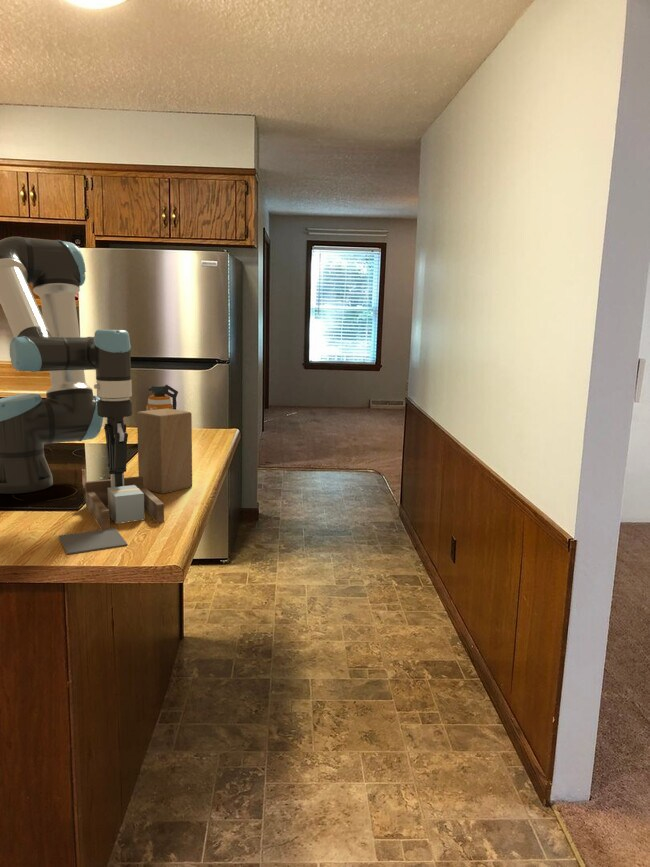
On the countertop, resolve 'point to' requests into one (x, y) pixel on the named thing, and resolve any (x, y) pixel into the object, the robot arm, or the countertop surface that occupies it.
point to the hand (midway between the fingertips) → (118, 499)
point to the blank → (125, 503)
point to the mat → (92, 540)
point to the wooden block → (165, 449)
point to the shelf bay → (99, 500)
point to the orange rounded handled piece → (161, 398)
